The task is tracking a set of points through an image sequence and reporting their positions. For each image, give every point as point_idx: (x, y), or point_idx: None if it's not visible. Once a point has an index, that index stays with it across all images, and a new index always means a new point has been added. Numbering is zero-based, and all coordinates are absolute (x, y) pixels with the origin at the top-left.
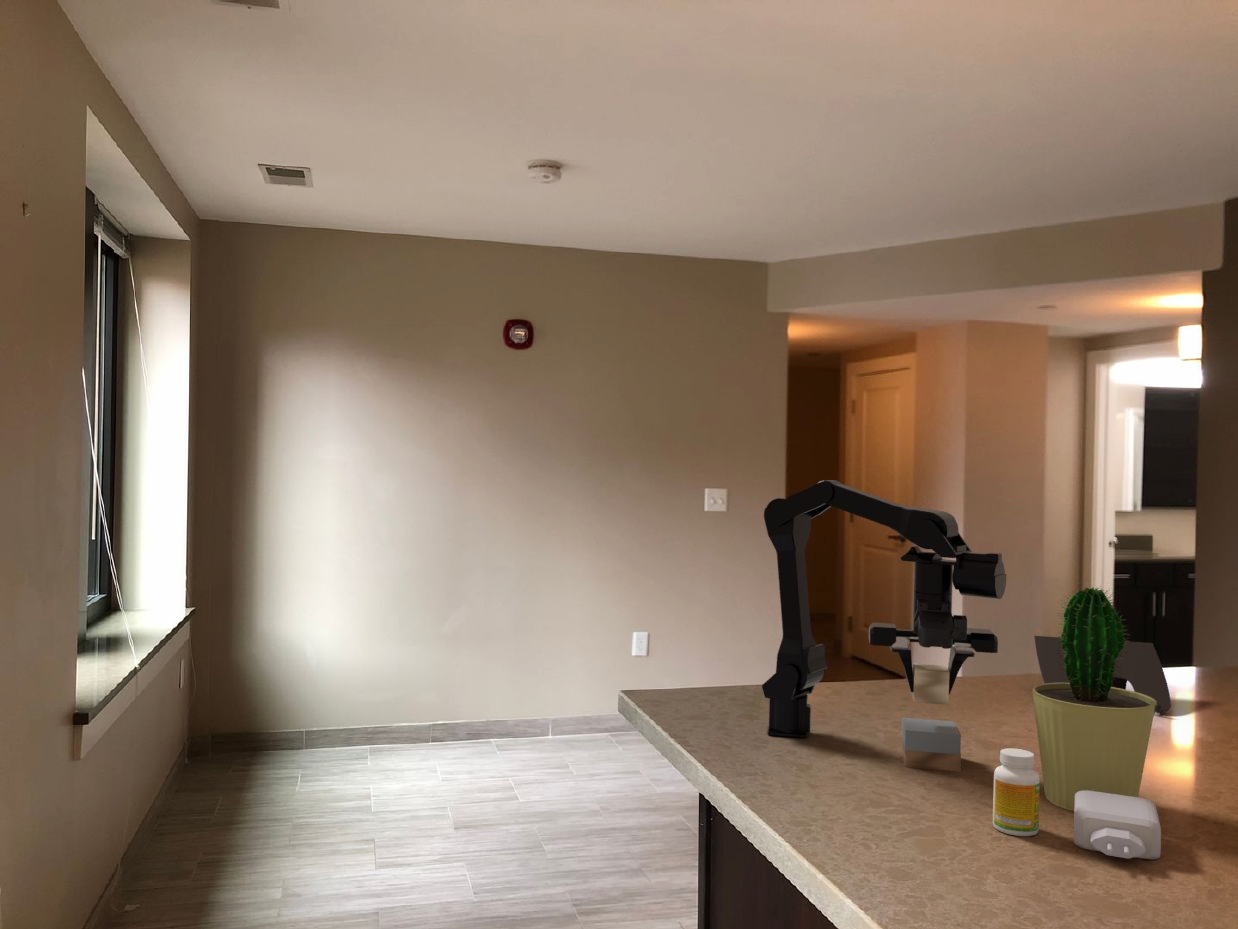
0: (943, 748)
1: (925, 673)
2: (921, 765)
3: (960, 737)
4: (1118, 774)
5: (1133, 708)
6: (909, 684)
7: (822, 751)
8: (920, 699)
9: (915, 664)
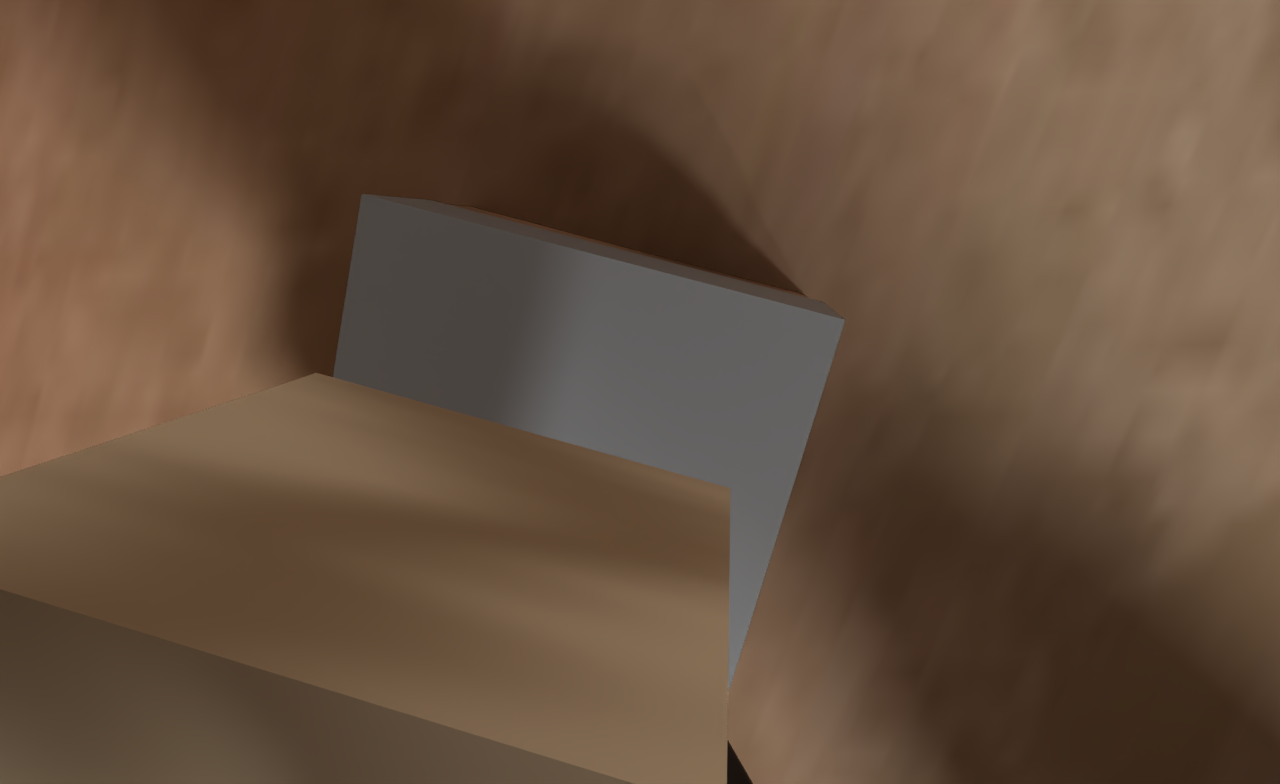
0: (539, 230)
1: (464, 674)
2: (703, 268)
3: (376, 195)
4: None
5: None
6: (744, 778)
7: (1267, 628)
8: (648, 478)
9: None
